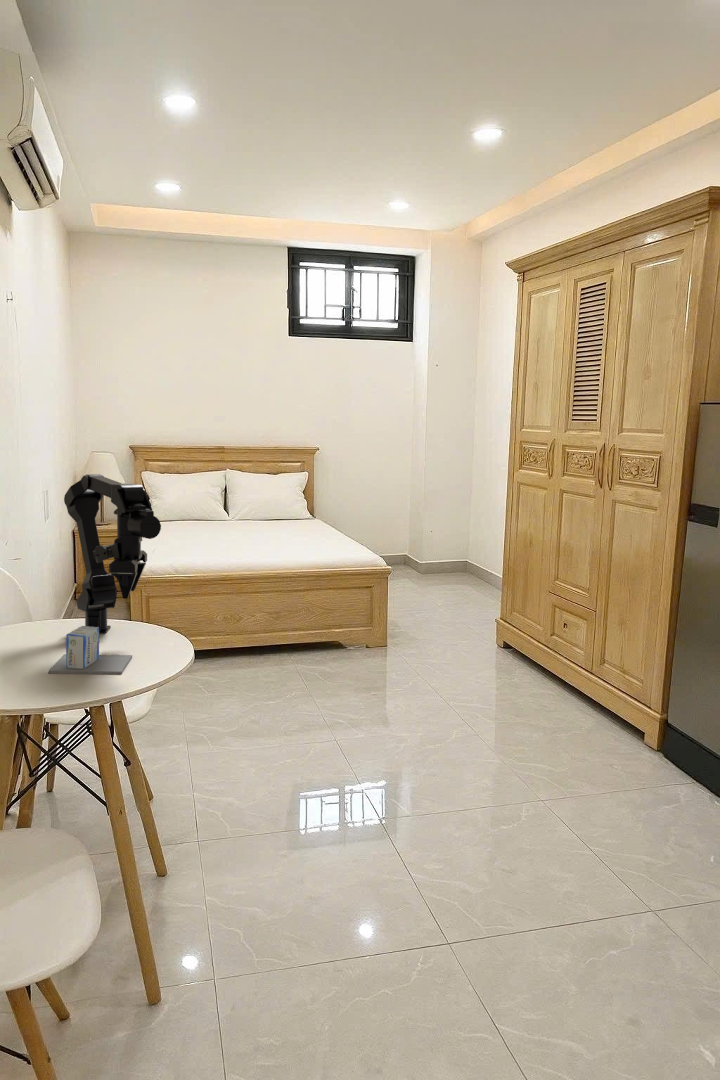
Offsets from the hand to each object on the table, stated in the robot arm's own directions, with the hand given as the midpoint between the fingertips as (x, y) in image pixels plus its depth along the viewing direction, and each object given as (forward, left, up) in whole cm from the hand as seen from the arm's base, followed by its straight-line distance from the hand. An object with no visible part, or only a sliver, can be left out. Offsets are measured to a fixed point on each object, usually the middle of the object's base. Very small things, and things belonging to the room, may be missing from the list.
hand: (128, 594), depth 199 cm
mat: (+18, -5, -13) cm, 23 cm away
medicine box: (+14, -6, -8) cm, 18 cm away
